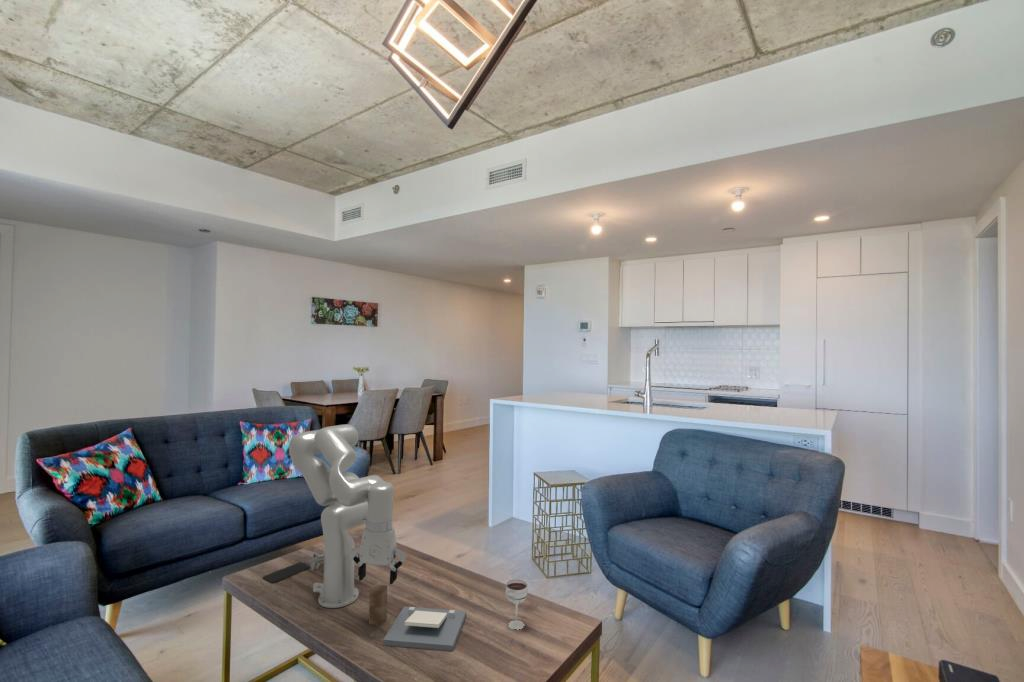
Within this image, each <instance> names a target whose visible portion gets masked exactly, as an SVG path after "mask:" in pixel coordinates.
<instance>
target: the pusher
mask: <svg viewBox="0 0 1024 682" xmlns="http://www.w3.org/2000/svg"><path fill="white" fill-rule="evenodd" d="M368 593H369V594H368V595H369V598H368V599H369V600H368V601H369V603H368V604H369V606H368V625H374V626H383V624H384V623H385V621H386V620H387V618H388V584H373V586H372V587H371V589H370V590H369V592H368Z"/></svg>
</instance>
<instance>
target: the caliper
mask: <svg viewBox="0 0 1024 682" xmlns="http://www.w3.org/2000/svg"><path fill="white" fill-rule="evenodd" d="M312 555H313V556H312V557H311V560H310V565H309V566H310V571H311V572H314V571H317V570H319V566H320V564H321V563H324V553H323V554H319V553H318V552H317V553H313V554H312Z"/></svg>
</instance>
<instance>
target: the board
mask: <svg viewBox="0 0 1024 682" xmlns="http://www.w3.org/2000/svg"><path fill="white" fill-rule="evenodd" d="M415 611H429V612H441V613H447V617H446V619H445V620H444V621H443V623H442V624H441V625H440V627H439V628H433V627H421V626H408V625H405V621H406V620H407V619H408V618H409V617H410V616H411V615H412V614H413V613H414V612H415ZM466 618H467V611H466V610H455V609H442V608H441V609H440V608H429V607H417V606H403V608H402V609H401V611H400V612H399V614H398V616H397V617H396V618H395V620H394V622H393V623H392V625H391V627H390V628H389V630H388V631H387V633H386V635H385V636H384V638H383V639H382V645H383V646H389V647H390V646H391V647H399V648H412V649H422V650H423V649H424V650H436V651H444V652H445V651H447V652H453V651H454V649H455V647H456V644H457V641H458V638H459V636H460V633H461V630H462V628H463V625H464V623H465V620H466Z"/></svg>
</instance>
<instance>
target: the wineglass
mask: <svg viewBox="0 0 1024 682" xmlns="http://www.w3.org/2000/svg"><path fill="white" fill-rule="evenodd" d="M528 586H529V585H528V582H526V581H524V580H522V579H511V580H508V581H507V582H505V587H506V589H505V597H506V599H507V600H508V601H510V603H513V604H514V606H515V610H514V612H515V620H514V619H513V620H514V621H513V620H511V621H509V622H510V623H509V622H508V623H507V626H508V628H509V629H511V630H514V629H517V630H516V631H518V630H519V629H520V630H522V629H523V628H524V627H525V623H524V622H523V621H522V620H519V619H518V608H519V605H520V604H522V603H523V602H524V601H526V599H527V597H528V594H529V592H528ZM518 620H519V621H518ZM521 621H522V622H521ZM523 623H524V624H523ZM508 624H509V625H508ZM523 626H524V627H523ZM520 630H519V631H520Z"/></svg>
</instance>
